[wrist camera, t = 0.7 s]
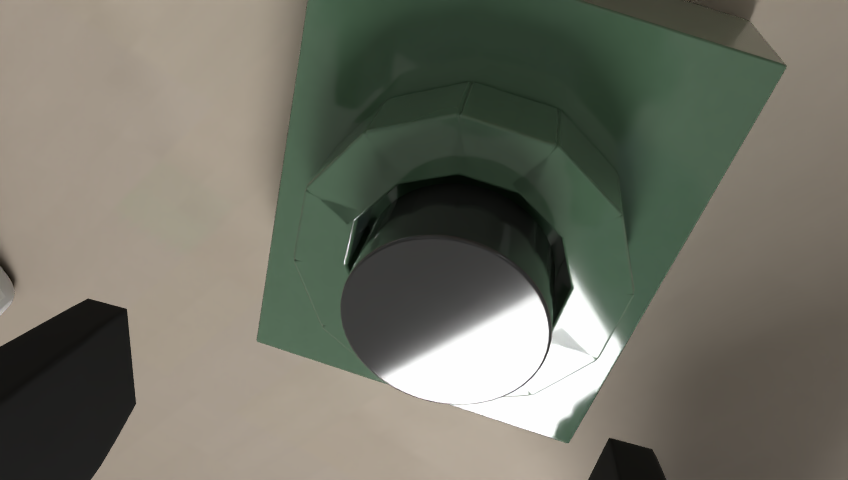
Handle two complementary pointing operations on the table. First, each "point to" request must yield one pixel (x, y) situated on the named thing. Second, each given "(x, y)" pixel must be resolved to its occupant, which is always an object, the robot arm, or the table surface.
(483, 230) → the black push button
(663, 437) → the table surface
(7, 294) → the eye dropper bottle
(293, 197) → the green button base
